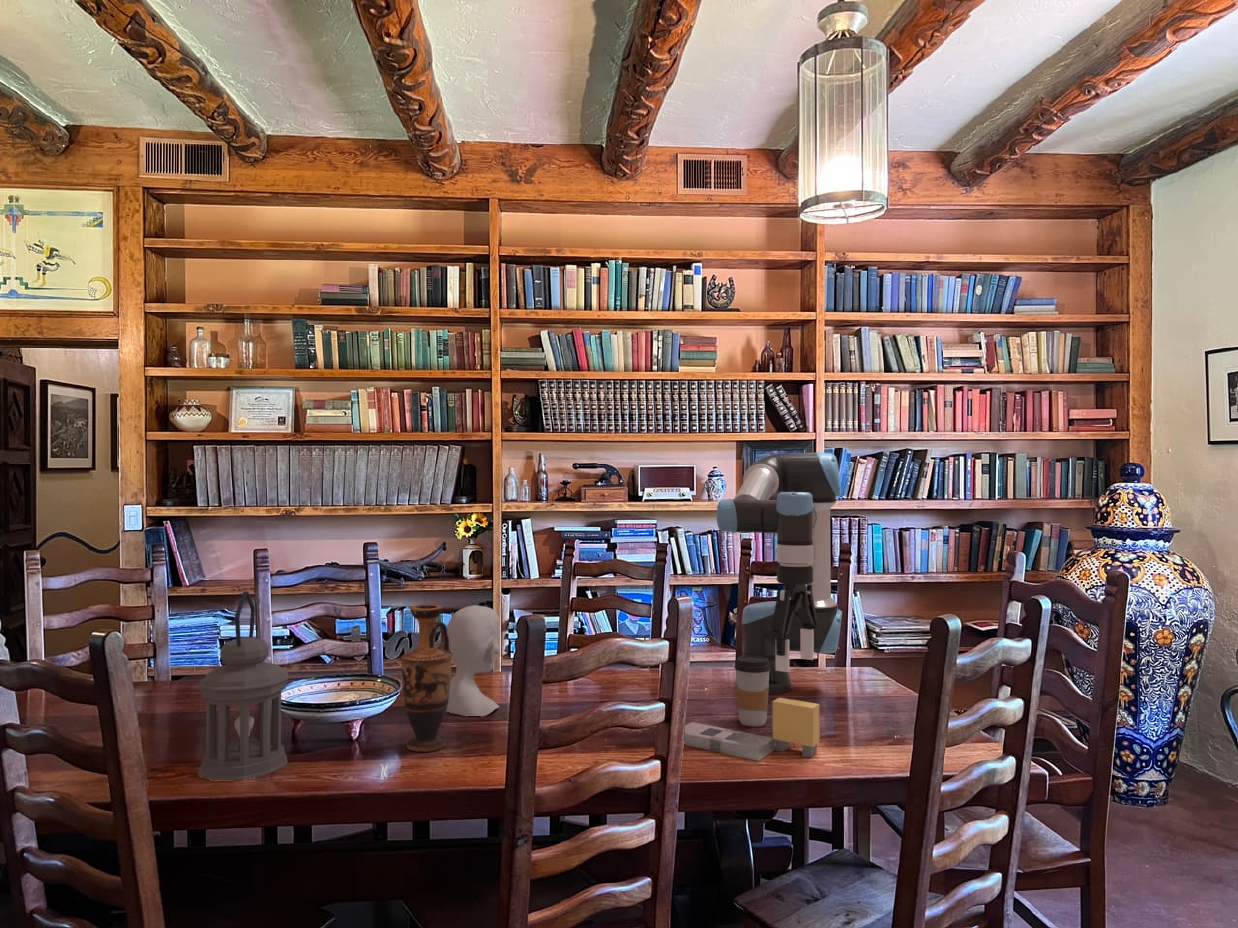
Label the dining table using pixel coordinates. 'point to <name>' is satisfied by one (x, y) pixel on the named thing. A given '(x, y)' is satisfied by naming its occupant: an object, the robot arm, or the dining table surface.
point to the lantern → (243, 708)
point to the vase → (427, 680)
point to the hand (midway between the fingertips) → (795, 664)
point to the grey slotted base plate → (728, 741)
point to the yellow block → (796, 725)
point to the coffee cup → (752, 689)
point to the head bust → (472, 658)
